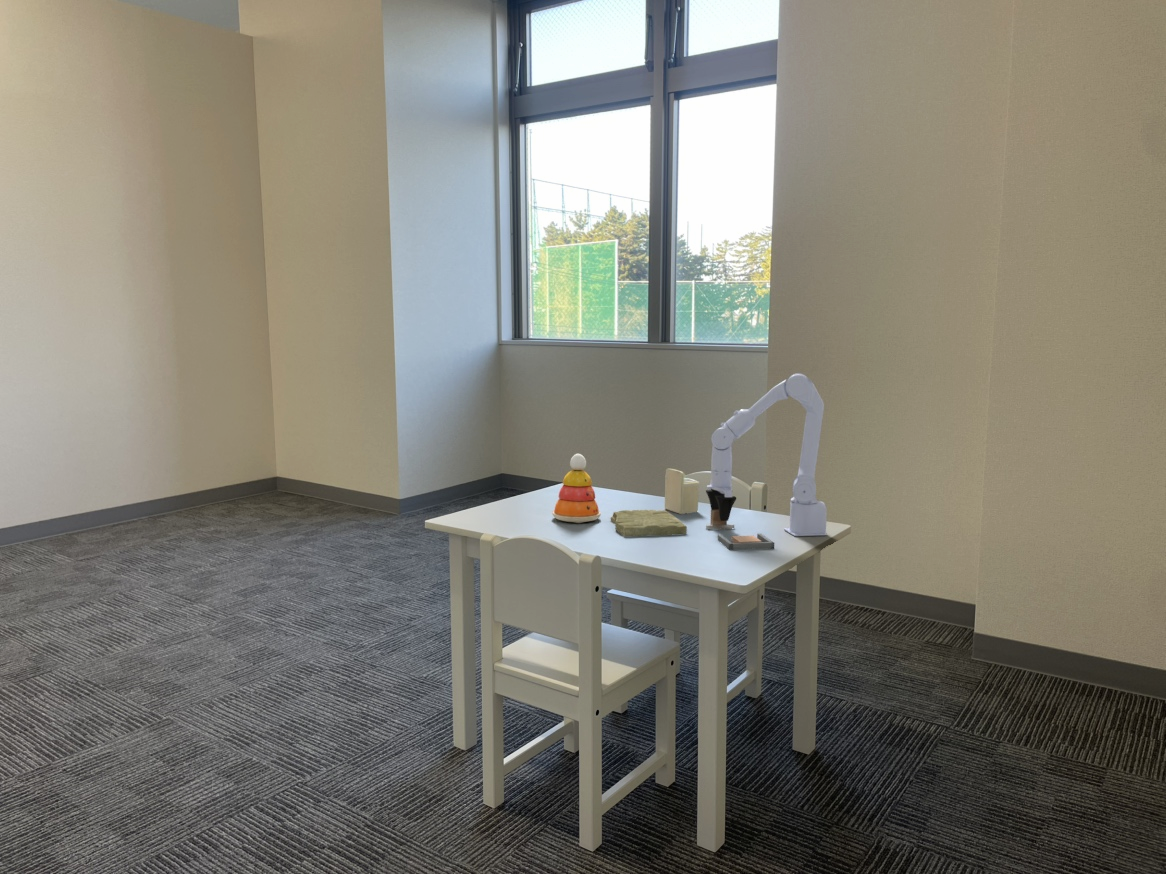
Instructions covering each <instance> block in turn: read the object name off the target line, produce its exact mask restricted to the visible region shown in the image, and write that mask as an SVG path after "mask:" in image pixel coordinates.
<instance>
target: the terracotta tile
mask: <svg viewBox="0 0 1166 874" xmlns="http://www.w3.org/2000/svg"><path fill="white" fill-rule="evenodd" d="M732 542H733V543H751V542H762V541H761V540H759V539H758V538H757V536H755V535H731V543H732Z"/></svg>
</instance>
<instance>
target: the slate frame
mask: <svg viewBox="0 0 1166 874" xmlns="http://www.w3.org/2000/svg"><path fill="white" fill-rule="evenodd" d="M756 538H758V539H759V540H761V541H762V542H751V543H732V541H731V540H729V539H728V538H727V537H726V536H724V535H723V534H717V542H719V543H720V542H721V543H722V544H721V543H720V544H721V545H723V546H724V547H725V546H726V547H727V548H726V547H725V548H726V549H728V550H729V551H736V550H737V551H740V550H771V549H772V550H773V549H775V542H774V541H773V540H771V539H770V538H768V537H767V536H765V535H764V534H762V533H757V534H756Z"/></svg>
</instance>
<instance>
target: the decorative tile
mask: <svg viewBox="0 0 1166 874" xmlns="http://www.w3.org/2000/svg"><path fill="white" fill-rule="evenodd" d="M610 522H611V523H612V522H613V524H614V525H615V530H616V531H617V532H618V534H620V535H621V534H622V535H621V536H622V537H623V536H632V537H647V536H646V535H660V536H673V535H672V534H685V535H687V531H688V527H687V525H685V523H683V522H682V521H681V520H680V519H679V518H677V517H676V516H675V515H673V514H671V513H670V512H668V510H666V509H664V510H656V509H655V510H653V509H648V510H647V509H634V510H627V509H625V510H620V511H619V510H618V511H613V514H612V516H611V517H610Z"/></svg>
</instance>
